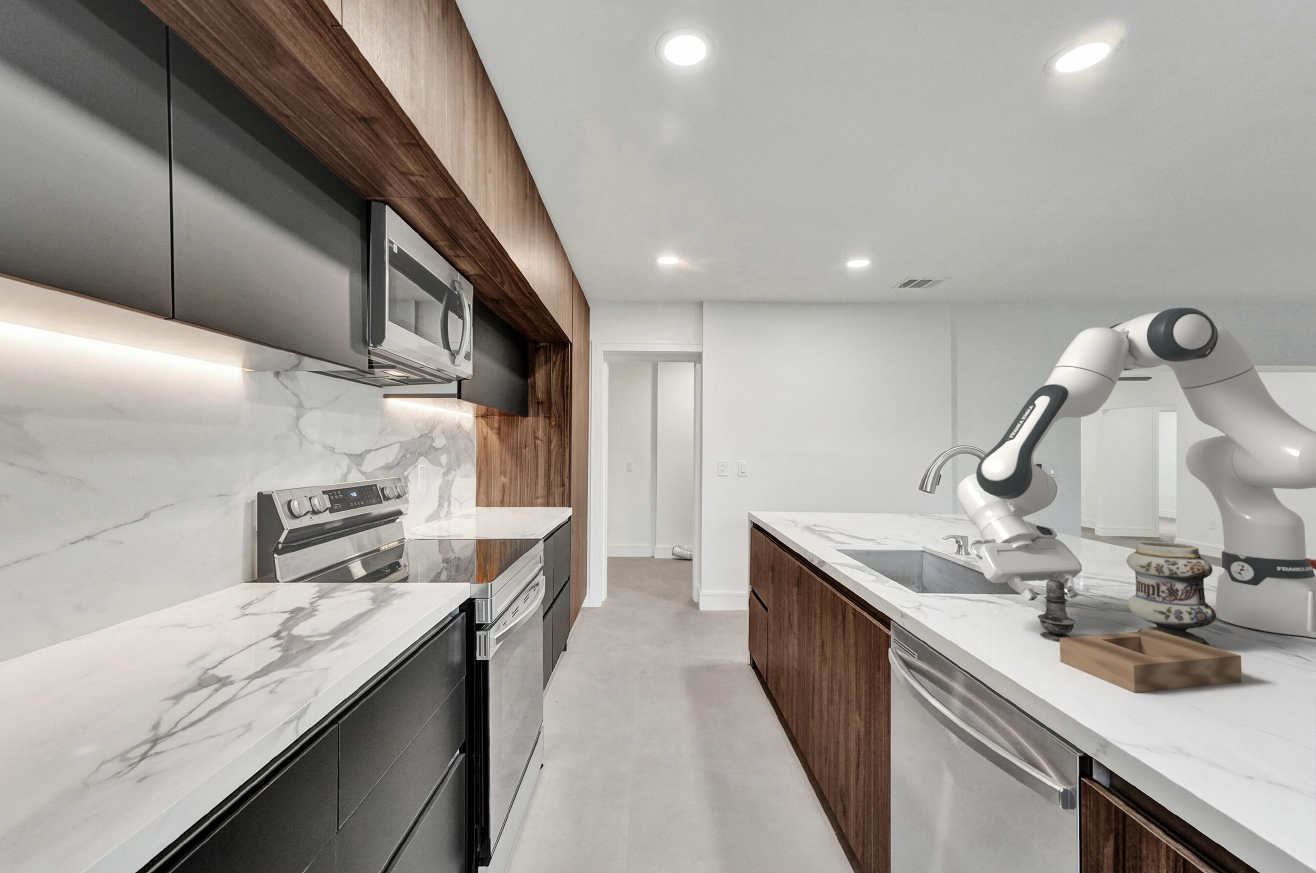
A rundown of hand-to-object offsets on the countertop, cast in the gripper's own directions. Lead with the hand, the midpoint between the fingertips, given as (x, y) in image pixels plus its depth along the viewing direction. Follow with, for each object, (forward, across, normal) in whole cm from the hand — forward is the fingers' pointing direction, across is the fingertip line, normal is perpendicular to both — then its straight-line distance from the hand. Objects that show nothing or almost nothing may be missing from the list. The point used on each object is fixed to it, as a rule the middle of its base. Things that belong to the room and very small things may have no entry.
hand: (1053, 597), depth 102 cm
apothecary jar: (+9, +20, +2) cm, 22 cm away
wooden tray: (+17, 0, -6) cm, 18 cm away
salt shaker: (+6, 0, +5) cm, 8 cm away
